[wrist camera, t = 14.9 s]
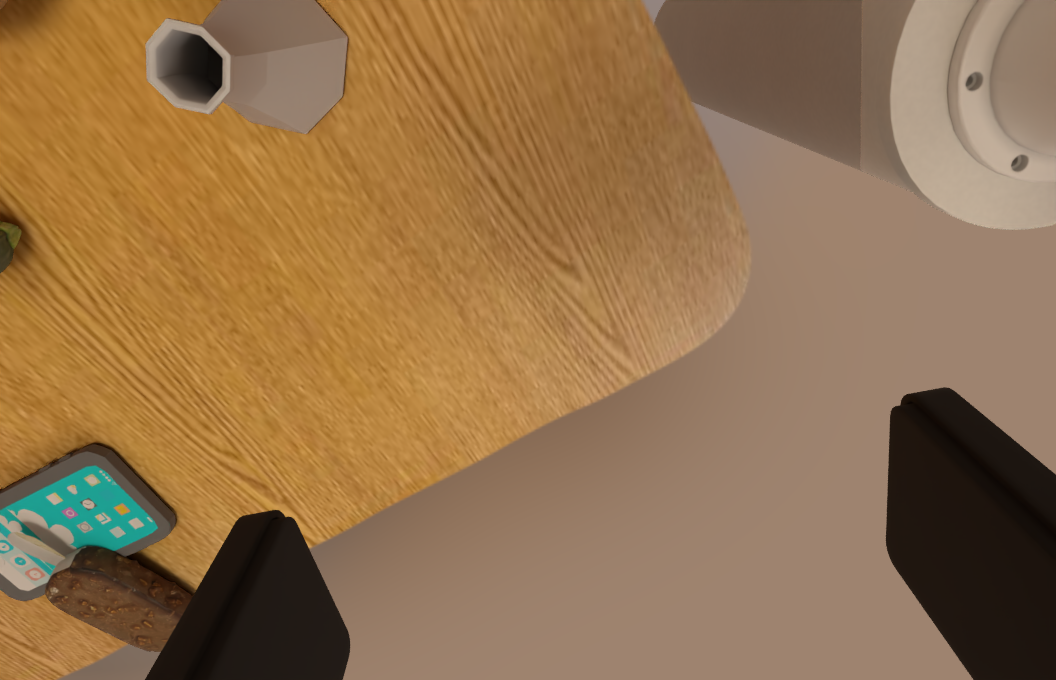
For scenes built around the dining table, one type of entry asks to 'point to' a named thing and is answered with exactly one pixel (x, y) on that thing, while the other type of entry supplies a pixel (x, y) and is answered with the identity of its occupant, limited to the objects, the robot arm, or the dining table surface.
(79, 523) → the smartphone
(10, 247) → the vegetable
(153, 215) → the dining table surface
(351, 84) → the dining table surface
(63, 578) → the ice cream bar
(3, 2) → the potato
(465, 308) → the dining table surface
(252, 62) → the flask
